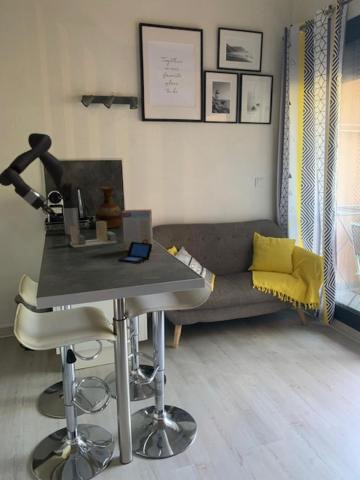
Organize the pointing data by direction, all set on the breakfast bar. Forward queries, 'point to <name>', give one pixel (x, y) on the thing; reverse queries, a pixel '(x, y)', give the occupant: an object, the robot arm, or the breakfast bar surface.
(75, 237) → the sliding jaw
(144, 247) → the handheld game console
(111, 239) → the vise
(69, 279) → the breakfast bar surface
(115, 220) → the brown vase
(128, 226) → the cracker box
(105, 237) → the brass block
